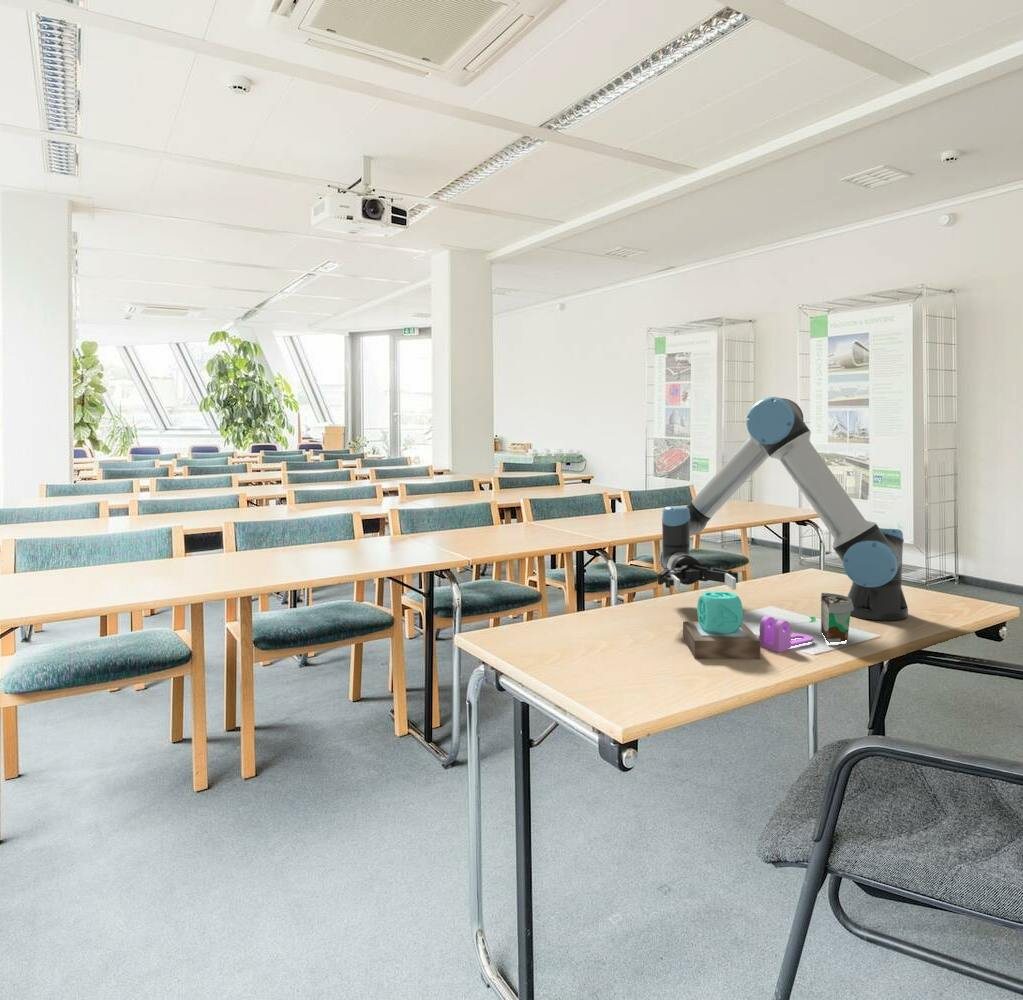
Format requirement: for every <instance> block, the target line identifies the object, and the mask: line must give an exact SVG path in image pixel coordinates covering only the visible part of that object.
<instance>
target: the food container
mask: <svg viewBox="0 0 1023 1000" xmlns="http://www.w3.org/2000/svg"><path fill="white" fill-rule="evenodd" d="M820 601H821V604H820V605H821V608H820V615H821V616H820V619H821V620H820V623H821V624H820V633H821V632H822V633H823V635H824V636H825V638H826V640H827V641H828V642H829V643H830V642H841V641H845V640H847V639H848V638H849V629H850V619H851V615H850V612H851V611H853V610H854V607H853V602H852V601H851V599H850V598H849V597H847V596H845V595H842V594H836V593H827V592H821V596H820ZM847 641H848V640H847Z"/></svg>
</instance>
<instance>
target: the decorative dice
mask: <svg viewBox="0 0 1023 1000" xmlns="http://www.w3.org/2000/svg"><path fill="white" fill-rule="evenodd" d="M696 606H697V607H696V611H697V612H696V613H697V620H698V621H697V622H699V624H700V627H701V628H702V629H703V630H704V631H706V632H710V633H716V634H730V633H734V632H736V631H737V630H738V629H739V628H740V627H741V625H742V622H744V621H743V620H744V609H743V604H742V601H741V598H740V596H739V595H738V594H737V593H734V592H730V591H722V590H717V591H716V590H714V591H706V592H703V593H701V595H700V596H699V597H698V600H697V604H696Z"/></svg>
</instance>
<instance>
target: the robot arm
mask: <svg viewBox="0 0 1023 1000" xmlns="http://www.w3.org/2000/svg"><path fill="white" fill-rule="evenodd" d="M748 411H749V412H748V414H747V417H746V428H747V432H748V433H749V437H748V438H747V439H746V441H745V442H744V443H743V444H742V445H741V446H740V447H739V448H738V450H736V452H734V454H733V455H732V456H731V457H730V458H729V459H728V460H727V461H726V463H725V464H724V465H723V466H721V468H720V469H719V470H718V471H717V472H716V473H715V474H714V475H713V476H712V478H710V480H709V481H708V482H707V483H706V484H705V486H703V488H702V489H701V490H700V491H699V492H698V493H697V494H696V495H695V496H694V497H693V499H692V500H691V501H690V502H689V503H688V504H687V505H686V506H685V505H684V506H683V505H668V506H664V508H663V509H662V518H661V523H662V530H661V531H662V547H661V549H662V551H661V552H660V554H659V563H660V566H661V568H662V569H663V570H661V571H660V572H659V573H658V574H657V585H663V584H665V585H664V586H665V588H667V589H669V588H671V587H672V588H673V589H674V590H675V591H676V592H680V591H681V585H686V586H687V585H688V586H689V585H693V584H695V583H697V582H699V581H701V582H708V581H711V582H712V581H713V582H718V583H724V585H725V586H726V587H729V588H730V589H731V590H733V591H734V590H735V591H736V590H737V584H738V583H739V572H737V571H732V570H731V569H729V570H727V569H723V568H718V567H716V566H711V567H710V569H709V567H703V566H702V565H701V562H699V560H697V559H696V558H695V557H693V556H692V555H690V552H691V551H690V546H691V544H690V541H691V540H690V539H691V537H690V536H693V535H695V534H696V535H697V534H698V533H701V532H702V531H703V530H704V529H705V528H706V526H707V525H708V522H709V521H710V520H711V519H712V518H713V516H715V514H716V513H718V511H719V510H720V509H721V508H722V507H723V506H724V505H725V504H726V503H727V502H728V501H729V500H730V499H731V498H732V497H733V496H734V494H735V493H736V492H738V491H739V489H740V488H741V487H742V486H743V485H744V484H745V482H747V481H748V479H750V478H751V476H752V475H753V474H754V473H755V472H756V471H757V470H758V469H759V468H760V467H761V466H762V465H763V464H764V462H766V460H767V459H768V458H771V459H776V460H779V461H780V462H781V464H782V465H783V466H784V469H785V470H786V471H787V473H788V475H790V477H791V479H792V480H793V481H794V482H795V484H796V485H797V486H798V489H799V490H800V491H801V493H802V494H803V496H804V498H805V499H806V500H807V501H808V503H809V504H810V505H811V507H812V509H813V511H815V514H817V516H818V517H819V519H820V521H821V522H822V523H823V524H824V526H825V527H826V529H827V530H828V532H829V533H830V535H831V536H832V537H833V543H832V548H833V550H834V552H835V553H836V554H837V556H838V557H839V559H840V560H841V561H842V567H843V570H844V573H846V576H847V577H848V579H850V580H851V583H852V584H851V585H850V589H849V592H848V595H847V596H846V597H849V598H850V599H851V601H852V602H853V607H854V610H853V611H851V612H850V616H851V615H852V616H851V617H855V618H858V619H859V618H860V619H864V620H870V619H871V620H872V621H885V622H887V621H888V622H889V621H892V622H893V621H901V620H904V619H907V618H908V617H909V607H908V604H907V601H906V597H905V595H904V591H903V588H902V576H903V575H902V574H903V553H904V552H903V550H904V549H903V548H904V547H903V546H904V545H903V544H904V541H905V540H904V534H903V531H902V530H901V529H899V528H882V527H879V526H878V524H877V523H876V522H874V521H870V520H867V519H865V517H864V516H863V514H862V513H861V512H860V510H859V509H858V507H857V506H856V505H855V503H854V502H853V500H852V499H851V497H850V496H849V495H848V493H847V492H846V490H845V489H844V488H843V486H842V485H841V483H840V482H839V481H838V479H837V478H836V476H835V475H834V473H833V472H832V471H831V468H829V466H828V465H827V464H826V462H825V461H824V460H823V458H822V456H821V455H820V454H819V452H818V451H817V450H816V448H815V447H814V445H813V443H812V442H811V441H810V438H811V434H812V432H811V430H810V429H809V427H808V426H807V424H806V423H805V422H804V413H803V411H802V408H801V407H800V406H799V405H798V404H797V403H796V402H794V401H793V400H790V399H788V398H782V397H778V396H777V397H776V396H769V397H766V398H763V399H761V400H759V401H757V402H756V403H754V405H753V406H751V408H750V410H748Z"/></svg>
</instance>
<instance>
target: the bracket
mask: <svg viewBox="0 0 1023 1000" xmlns="http://www.w3.org/2000/svg"><path fill="white" fill-rule="evenodd" d="M791 629H792V626H791V624H790V621H788V620H784V619H778V620H777V621H776V619H775V617H772V616H770V615H764V616H763V617H762V618H761V619H760V621H759V640H760V648H764V649H767V650H770V649H771V651H774V652H777V653H781V652H786V650H787V649H788V648H790V647H791V646H795V645H799V644H803V643H808V642H812V641H813V642H814V637H813V636H812V635H809V634H804V633H792V630H791ZM795 638H801V639H796V640H791V639H795ZM787 651H788V650H787Z"/></svg>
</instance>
